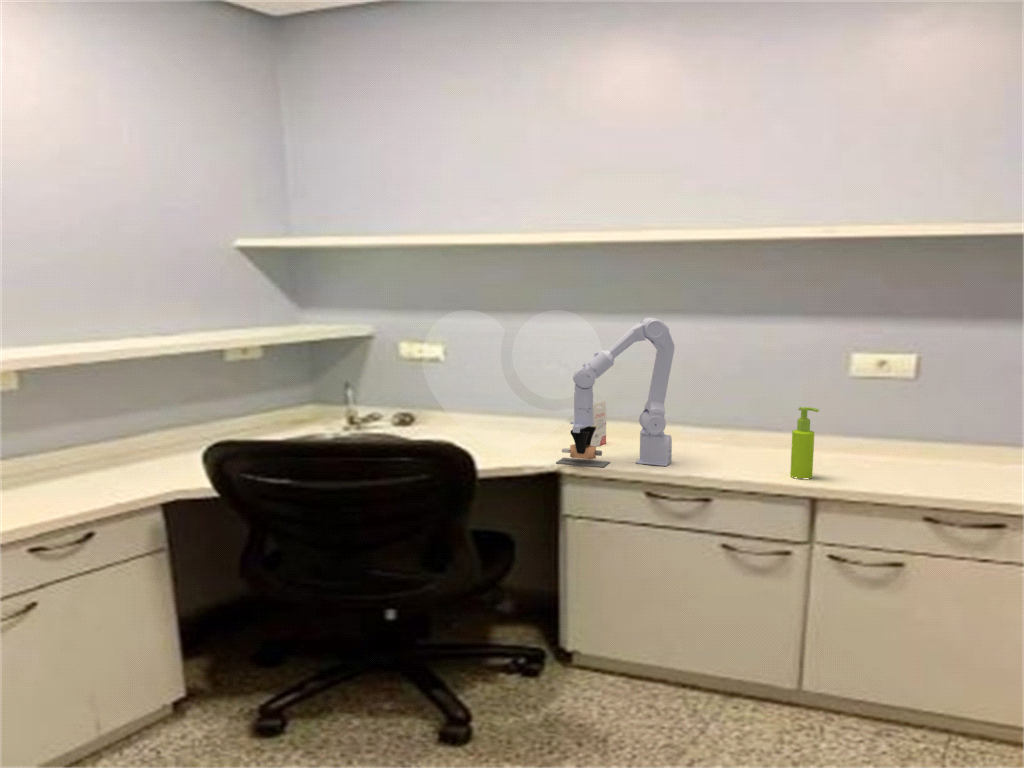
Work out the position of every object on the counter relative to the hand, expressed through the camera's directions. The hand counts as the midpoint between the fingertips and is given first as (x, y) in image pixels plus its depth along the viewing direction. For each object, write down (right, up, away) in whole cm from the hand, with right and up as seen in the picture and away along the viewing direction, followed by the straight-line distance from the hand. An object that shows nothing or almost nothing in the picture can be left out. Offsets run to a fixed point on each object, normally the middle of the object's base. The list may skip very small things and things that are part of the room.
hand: (583, 451), depth 253 cm
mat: (0, -4, 0) cm, 3 cm away
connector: (0, -2, 0) cm, 2 cm away
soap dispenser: (+61, -6, -17) cm, 63 cm away
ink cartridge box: (+6, 0, +27) cm, 28 cm away
